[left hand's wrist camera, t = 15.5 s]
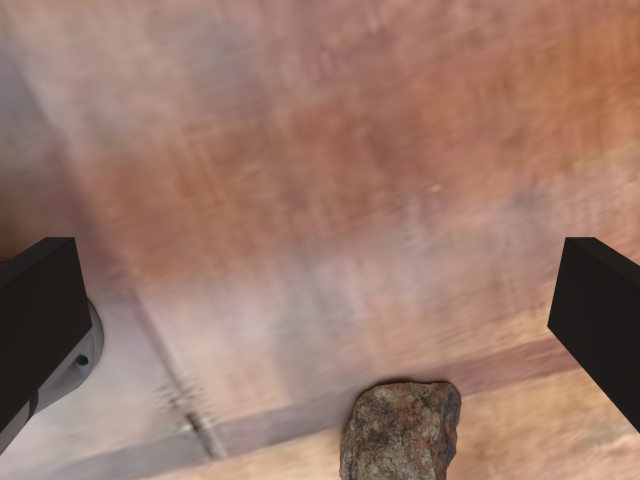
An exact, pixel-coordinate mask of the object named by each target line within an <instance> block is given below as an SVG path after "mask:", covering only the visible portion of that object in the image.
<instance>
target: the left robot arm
mask: <svg viewBox="0 0 640 480" xmlns="http://www.w3.org/2000/svg"><path fill="white" fill-rule="evenodd" d="M547 327H548V328H549V329H550V330H551V332H552V333H553V334H554V335H555V336H556V337H557V339H558V340H559V341H560V342H561V343H562V344H563V345H564V347H565V348H566V349H567V350H568V351H569V352H570V354H571V355H572V356H573V357H574V358H575V359H576V360H577V362H578V363H579V364H580V365H581V366H582V367H583V369H584V370H585V371H586V372H587V373H588V374H589V376H590V377H591V378H592V379H593V380H594V381H595V382H596V384H597V385H598V386H599V387H600V388H601V389H602V391H603V392H604V393H605V394H606V395H607V396H608V397H609V399H610V400H611V401H612V402H613V403H614V404H615V406H616V407H617V408H618V409H619V410H620V411H621V413H622V414H623V415H624V416H625V417H626V418H627V419H628V421H629V422H630V423H631V424H632V425H633V426H634V428H635V429H636V430H637V431H638V432H639V433H640V266H639V265H637V264H636V263H634V262H633V261H631V260H629V259H628V258H626V257H625V256H623V255H622V254H620V253H618V252H617V251H615V250H614V249H612V248H610V247H609V246H607V245H606V244H604V243H603V242H601V241H599V240H598V239H596V238H595V237H566V238H565V243H564V248H563V253H562V257H561V262H560V267H559V272H558V277H557V281H556V286H555V291H554V296H553V301H552V305H551V310H550V315H549V320H548V325H547ZM102 349H103V332H102V327H101V323H100V321H99V318H98V316H97V314H96V312H95V310H94V308H93V307H92V305H91V304H90V302H89V301H88V300H87V296H86V291H85V286H84V281H83V277H82V272H81V267H80V262H79V257H78V253H77V248H76V243H75V238H74V237H45V238H44V239H42V240H41V241H39V242H37V243H36V244H34V245H33V246H31V247H30V248H28V249H26V250H25V251H23V252H22V253H20V254H18V255H17V256H15V257H14V258H12V259H11V260H9V261H7V262H3V263H0V456H1V454H2V453H3V452H4V451H5V449H6V448H7V447H8V446H9V444H10V443H11V442H12V441H13V439H14V438H15V437H16V436H17V434H18V433H19V432H20V431H21V429H22V428H23V427H24V426H25V424H26V423H27V422H28V421H29V420H30V418H31V417H32V416H33V415H35V414H36V413H38V412H39V411H41V410H43V409H44V408H46V407H47V406H49V405H51V404H52V403H54V402H56V401H57V400H59V399H60V398H62V397H64V396H65V395H67V394H68V393H70V392H72V391H73V390H75V389H76V388H78V387H79V386H80V385H81V384H82V383H83V382H84V381H85V380H86V378H87V377H88V376H89V374H90V373H91V372H92V370H93V369H94V368H95V366H96V365H97V363H98V361H99V359H100V356H101V353H102Z"/></svg>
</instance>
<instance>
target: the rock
mask: <svg viewBox="0 0 640 480" xmlns="http://www.w3.org/2000/svg"><path fill="white" fill-rule="evenodd" d="M460 408H461V396H460V394H459V393H458V391H457V390H456V389H455V388H454V387H453V386H452V385H451V384H449V383H431V384H430V385H429V384H419V383H413V382H409V383H403V384H402V383H395V384H390V385H389V384H387V385H382V386H377V387H375V388H373V389H371V390H369V391H367V392H365V393H364V394H363V395H362V396H361V397H360V398H359V399H358V400H357V401H356V403H355V405H354V408H353V415H352V418H351V420H350V422H349V423H348V426H347V428H346V431H345V433H344V434H343V436H342V438H341V440H340V448H339V449H340V470H339V473H340V477H341V478H342V480H446V470H447V467H449V465H450V462H451V461H452V459H453V458H454V456H455V455H456V442H457V432H456V427H457V424H458V421H459V416H460Z"/></svg>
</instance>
